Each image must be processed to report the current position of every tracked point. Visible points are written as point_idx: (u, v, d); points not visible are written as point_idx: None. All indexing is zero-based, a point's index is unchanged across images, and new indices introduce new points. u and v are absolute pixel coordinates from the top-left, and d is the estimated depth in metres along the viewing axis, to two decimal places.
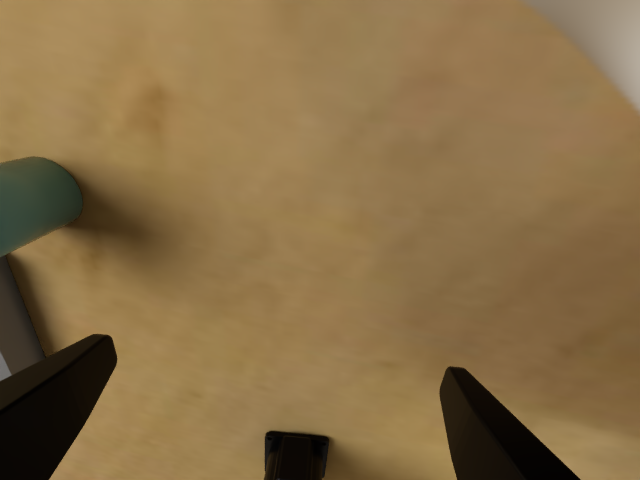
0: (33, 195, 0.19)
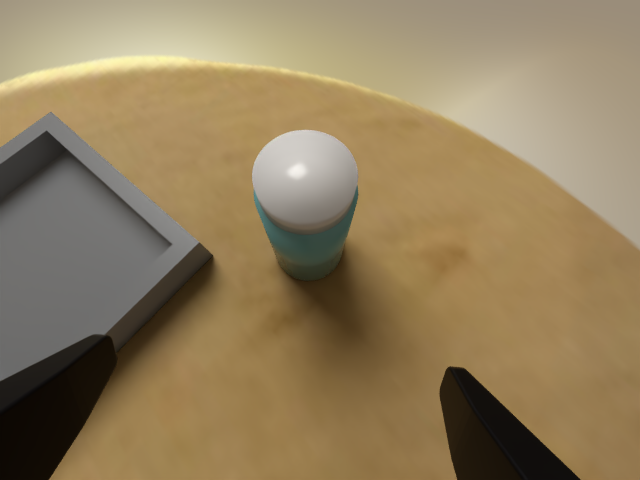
0: None
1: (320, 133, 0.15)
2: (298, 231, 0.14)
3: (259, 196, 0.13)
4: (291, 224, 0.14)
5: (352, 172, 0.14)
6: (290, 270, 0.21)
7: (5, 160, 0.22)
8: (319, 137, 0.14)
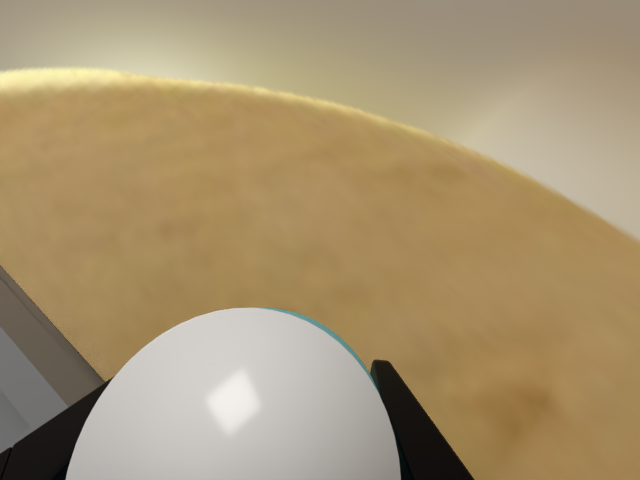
0: None
1: (288, 320, 0.05)
2: None
3: None
4: None
5: (383, 468, 0.04)
6: None
7: None
8: (285, 334, 0.05)
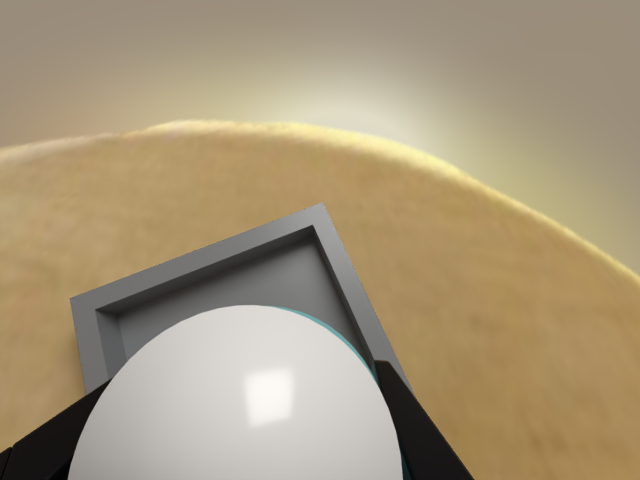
0: None
1: (290, 317, 0.05)
2: None
3: None
4: None
5: (385, 465, 0.04)
6: None
7: (263, 243, 0.20)
8: (286, 331, 0.05)
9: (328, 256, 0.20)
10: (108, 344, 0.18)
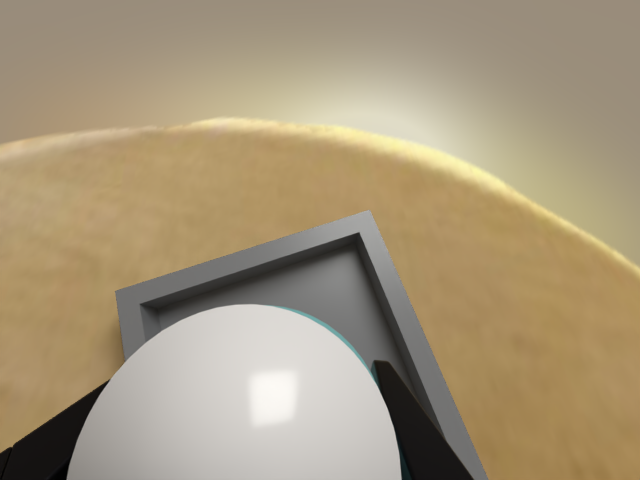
0: None
1: (288, 316, 0.05)
2: None
3: None
4: None
5: (383, 464, 0.04)
6: None
7: (308, 248, 0.20)
8: (285, 330, 0.05)
9: (374, 265, 0.19)
10: None
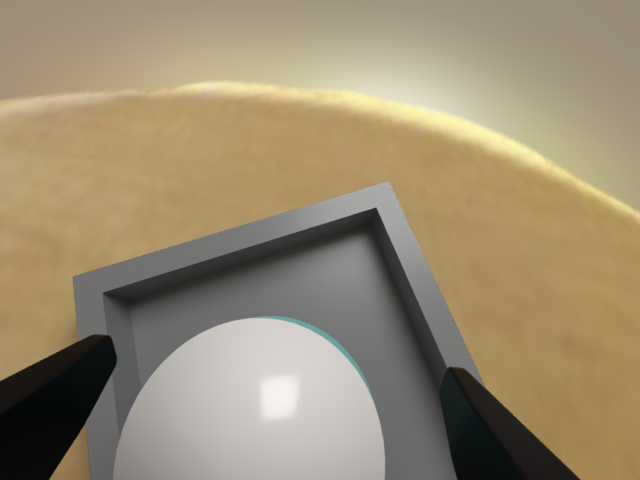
0: None
1: (293, 328, 0.06)
2: None
3: None
4: None
5: (371, 449, 0.06)
6: None
7: (314, 226, 0.16)
8: (291, 339, 0.06)
9: (395, 248, 0.16)
10: (116, 338, 0.15)
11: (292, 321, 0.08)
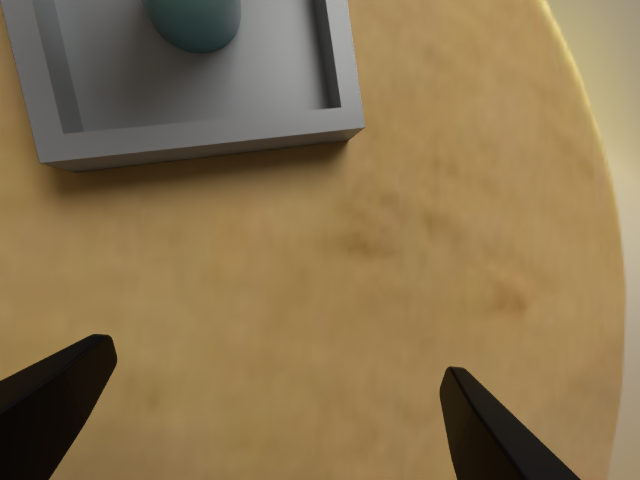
0: None
1: None
2: None
3: None
4: None
5: None
6: (155, 17, 0.15)
7: None
8: None
9: None
10: None
11: None
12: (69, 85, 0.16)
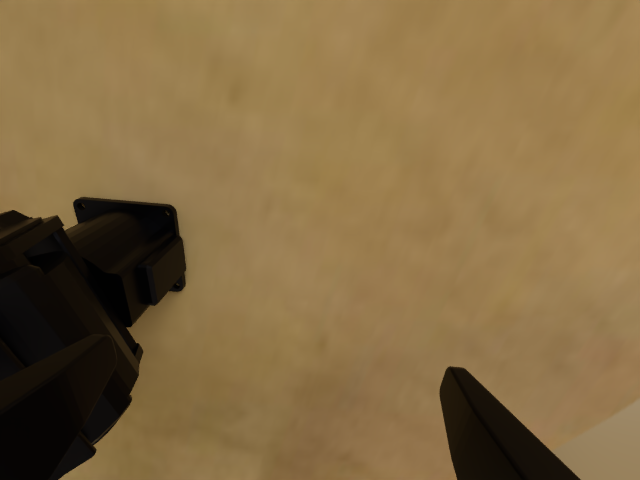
0: None
1: None
2: None
3: None
4: None
5: None
6: None
7: None
8: None
9: None
10: None
11: None
12: None
